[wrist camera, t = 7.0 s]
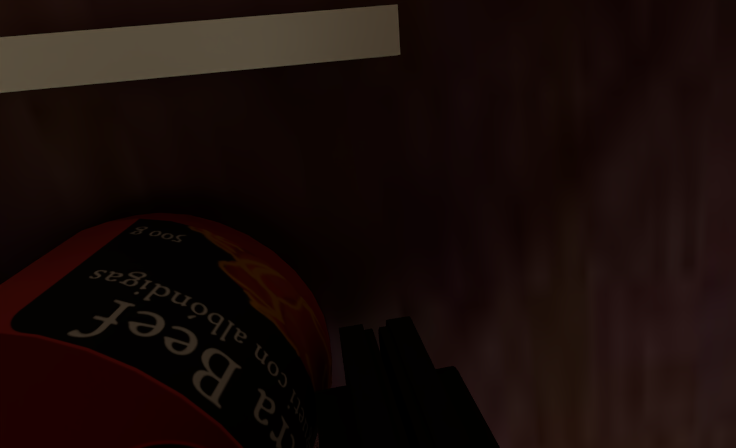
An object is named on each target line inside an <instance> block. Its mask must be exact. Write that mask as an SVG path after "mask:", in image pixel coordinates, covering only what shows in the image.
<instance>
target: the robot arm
mask: <svg viewBox="0 0 736 448" xmlns="http://www.w3.org/2000/svg"><path fill="white" fill-rule="evenodd" d="M339 332H340V340H341V348H342V356H343V363H344V371H345V379H346V386H341V387H336V388H330V389H325V390H319V391H315V403H316V414H317V425H318V435H319V446H320V448H500V447H499V445H498V443H497V442H496V440H495V438H494V436H493V434H492V432H491V431H490V429H489V427H488V425H487V423H486V421H485V420H484V418H483V416H482V414H481V412H480V410H479V409H478V407H477V405H476V403H475V401H474V399H473V398H472V396H471V394H470V392H469V390H468V388H467V387H466V385H465V383H464V381H463V379H462V377H461V376H460V374H459V372H458V370H457V369H456V368H455V367H454V366H451V367H445V368H440V369H435V368H434V366H433V364H432V361H431V359H430V357H429V355H428V353H427V351H426V349H425V347H424V345H423V343H422V340H421V338H420V336H419V334H418V332H417V330H416V328H415V326H414V324H413V322H412V320H411V318H410V317H409V316H407V317H401V318H395V319H389V320H386V326H385V327H379V342H380V351H379V348H378V345H377V342H376V339H375V335H374V332H373V330H372V329H368V330H364V328H363V325H362V324H360V325H354V326H348V327H342V328H339ZM380 352H381V354H380Z"/></svg>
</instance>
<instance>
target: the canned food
mask: <svg viewBox="0 0 736 448" xmlns="http://www.w3.org/2000/svg"><path fill="white" fill-rule="evenodd" d="M331 384H332V357H331V347H330V338H329V334H328V330H327V326H326V322H325V318H324V315H323V313H322V311H321V309H320V307H319V305H318V303H317V301H316V299H315V297H314V295H313V293H312V292H311V291H310V289H309V288H308V287H307V285H306V284H305V283H304V282H303V280H302V279H301V278H300V276H299V275H298V274H297V273H296V271H295V270H293V269H292V268H291V267H290V266H289V265H288V264H287V263H286V262H285V261H283V260H282V259H281V258H280V257H279V256H278V255H277V254H276V253H275V252H274V251H272V250H270V249H269V248H267V247H266V246H264V245H263V244H261V243H259V242H258V241H256V240H255V239H253V238H252V237H250V236H249V235H247V234H244V233H242V232H240V231H238V230H235V229H233V228H231V227H228V226H226V225H224V224H222V223H219V222H216V221H212V220H208V219H204V218H200V217H196V216H192V215H186V214H173V213H151V214H142V215H133V216H129V217H125V218H121V219H117V220H113V221H109V222H106V223H103V224H100V225H97V226H94V227H91V228H88V229H85V230H82V231H80V232H79V233H77V234H76V235H74V236H73V237H71V238H69V239H68V240H66V241H65V242H63V243H62V244H60V245H59V246H57V247H56V248H54V249H53V250H51V251H50V252H48V253H47V254H45V255H44V256H42V257H41V258H39V259H38V260H36V261H35V262H33V263H32V264H30V265H29V266H27V267H26V268H24V269H23V270H21V271H20V272H18V273H17V274H15V275H14V276H12V277H11V278H9V279H8V280H6V281H5V282H3V283H2V284H0V448H313V446H314V443H315V439H316V436H317V433H318V425H317V414H316V403H315V391H319V390H325V389H330V388H331Z"/></svg>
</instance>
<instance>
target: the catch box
mask: <svg viewBox="0 0 736 448" xmlns="http://www.w3.org/2000/svg"><path fill="white" fill-rule="evenodd" d="M395 55H400V39H399V21H398V4H396V5H384V6H372V7H360V8H348V9H336V10H324V11H312V12H300V13H288V14H276V15H263V16H251V17H239V18H227V19H215V20H203V21H191V22H179V23H167V24H155V25H143V26H131V27H119V28H107V29H95V30H83V31H70V32H58V33H46V34H34V35H22V36H10V37H0V93H3V92H14V91H24V90H35V89H46V88H56V87H67V86H77V85H88V84H98V83H109V82H120V81H130V80H141V79H151V78H162V77H173V76H183V75H194V74H204V73H215V72H225V71H236V70H247V69H257V68H268V67H278V66H289V65H299V64H310V63H321V62H331V61H342V60H352V59H363V58H373V57H384V56H395Z"/></svg>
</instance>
